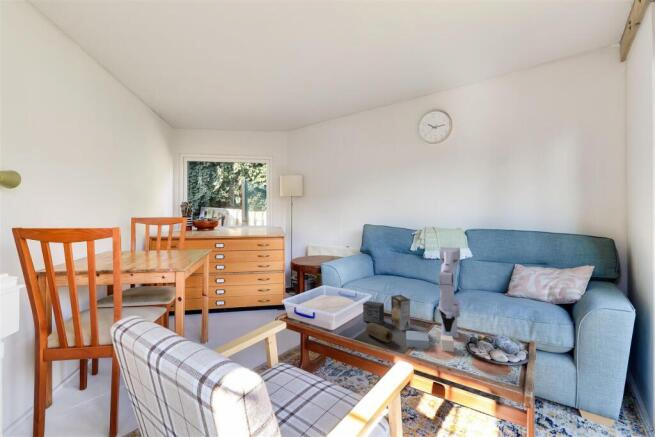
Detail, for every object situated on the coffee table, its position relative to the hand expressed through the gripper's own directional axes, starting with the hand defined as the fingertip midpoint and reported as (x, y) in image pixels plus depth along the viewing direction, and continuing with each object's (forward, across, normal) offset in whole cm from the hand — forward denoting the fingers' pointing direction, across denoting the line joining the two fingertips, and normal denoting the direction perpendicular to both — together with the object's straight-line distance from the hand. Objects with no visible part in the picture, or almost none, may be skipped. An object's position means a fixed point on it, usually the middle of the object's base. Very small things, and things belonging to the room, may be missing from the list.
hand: (446, 328), depth 139 cm
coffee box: (+10, -21, -21) cm, 31 cm away
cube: (+10, 0, 0) cm, 10 cm away
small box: (+10, -26, -36) cm, 45 cm away
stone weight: (+10, -5, -31) cm, 33 cm away
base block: (+10, -3, -13) cm, 17 cm away
